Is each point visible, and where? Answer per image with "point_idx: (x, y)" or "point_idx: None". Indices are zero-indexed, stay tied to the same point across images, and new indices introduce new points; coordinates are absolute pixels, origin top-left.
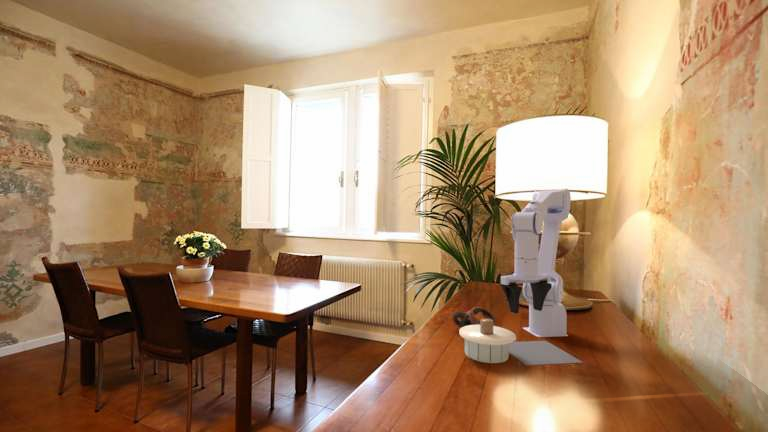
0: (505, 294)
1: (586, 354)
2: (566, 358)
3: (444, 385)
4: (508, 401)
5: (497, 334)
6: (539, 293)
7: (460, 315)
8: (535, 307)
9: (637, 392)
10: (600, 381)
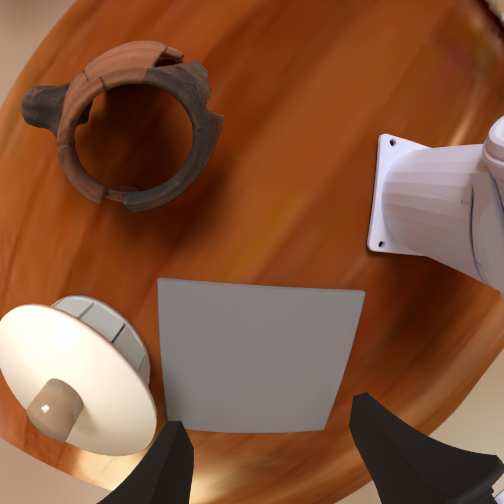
0: (113, 491)
1: (387, 379)
2: (304, 414)
3: (19, 411)
4: (97, 467)
5: (94, 417)
6: (388, 495)
7: (35, 124)
8: (356, 412)
9: (307, 484)
10: (285, 469)
